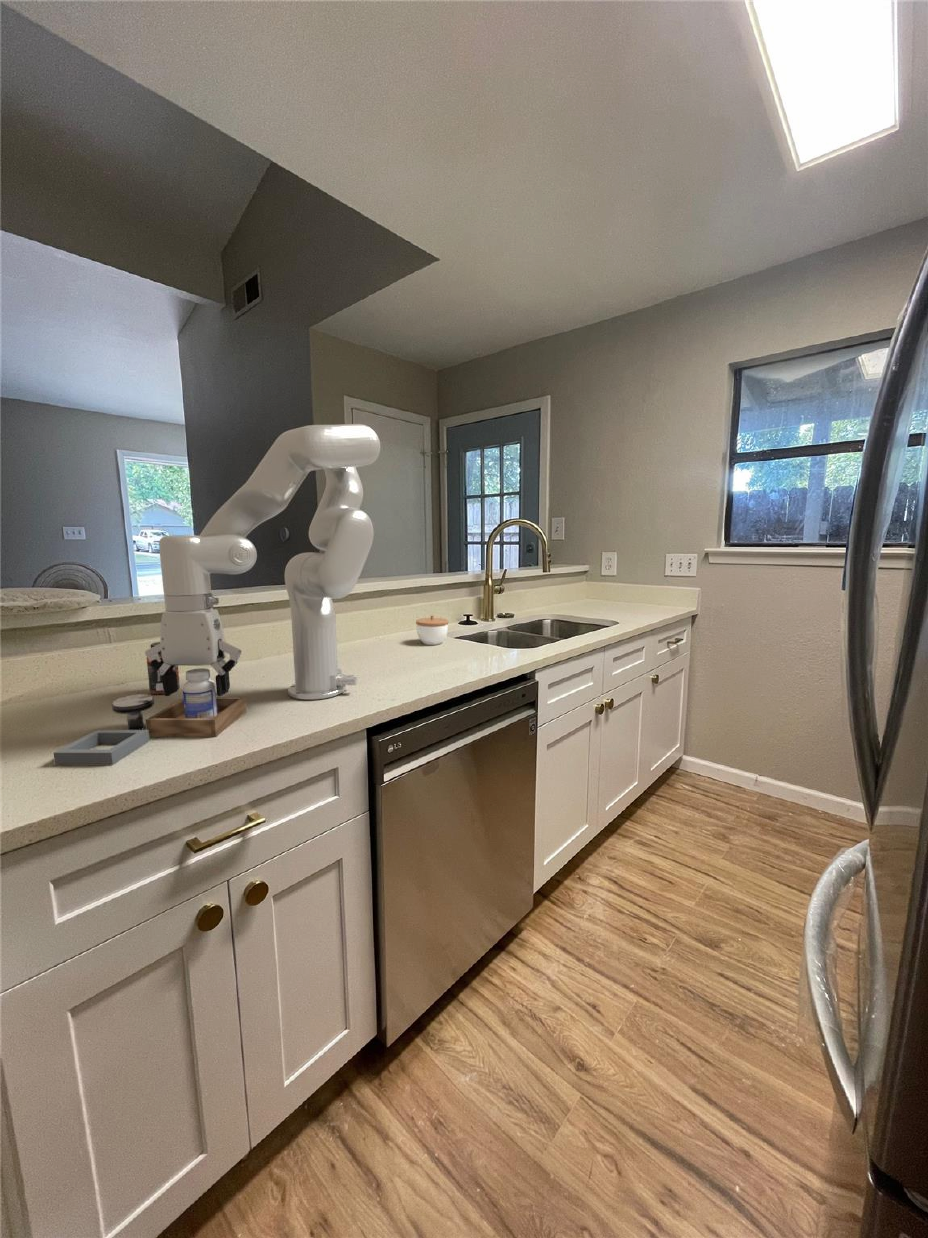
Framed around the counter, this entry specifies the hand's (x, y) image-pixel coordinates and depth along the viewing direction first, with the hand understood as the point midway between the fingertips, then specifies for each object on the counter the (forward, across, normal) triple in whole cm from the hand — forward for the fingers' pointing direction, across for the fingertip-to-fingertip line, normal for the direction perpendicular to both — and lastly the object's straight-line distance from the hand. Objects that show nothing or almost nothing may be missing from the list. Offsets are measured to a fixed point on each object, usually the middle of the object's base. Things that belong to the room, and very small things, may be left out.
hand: (197, 693), depth 92 cm
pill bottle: (+6, 0, 0) cm, 6 cm away
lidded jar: (+6, -40, -72) cm, 82 cm away
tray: (+6, 0, 0) cm, 6 cm away
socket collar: (+6, +9, +12) cm, 16 cm away
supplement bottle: (+6, +18, -20) cm, 28 cm away
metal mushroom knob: (+6, +10, +2) cm, 12 cm away
